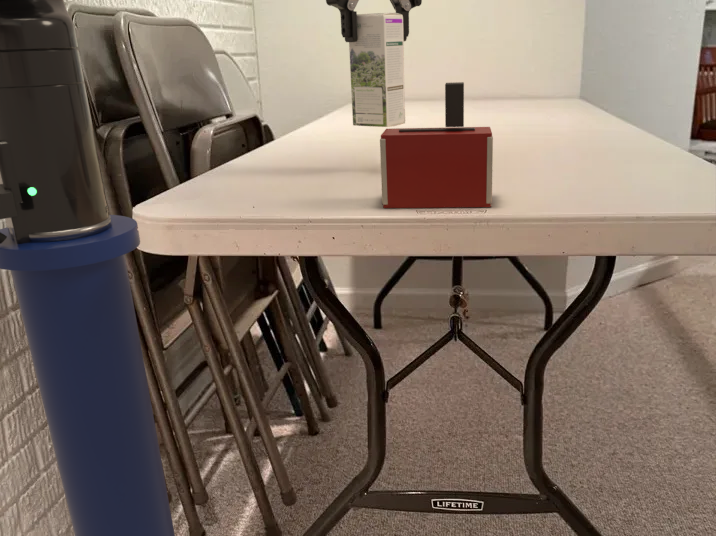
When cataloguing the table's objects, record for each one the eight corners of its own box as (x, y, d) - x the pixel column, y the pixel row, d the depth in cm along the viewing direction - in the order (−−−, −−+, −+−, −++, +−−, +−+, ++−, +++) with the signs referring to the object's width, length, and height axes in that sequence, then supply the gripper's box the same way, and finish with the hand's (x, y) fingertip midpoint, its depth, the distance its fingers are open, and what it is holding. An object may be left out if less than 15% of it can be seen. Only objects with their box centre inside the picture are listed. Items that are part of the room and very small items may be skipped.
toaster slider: (445, 127, 79) (445, 84, 77) (445, 124, 81) (445, 82, 79) (463, 126, 78) (463, 83, 77) (463, 124, 81) (463, 82, 79)
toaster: (382, 208, 81) (379, 133, 78) (387, 197, 86) (385, 126, 83) (491, 207, 80) (493, 131, 77) (489, 195, 85) (490, 124, 82)
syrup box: (406, 123, 103) (404, 13, 97) (386, 127, 98) (383, 11, 92) (372, 122, 105) (368, 14, 100) (351, 126, 100) (346, 13, 95)
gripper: (337, -108, 85) (344, 42, 91) (434, -97, 92) (435, 40, 98) (308, -97, 90) (316, 43, 97) (401, -88, 98) (404, 41, 104)
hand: (376, 41), depth 97 cm, fingers closed on syrup box, 7 cm apart
